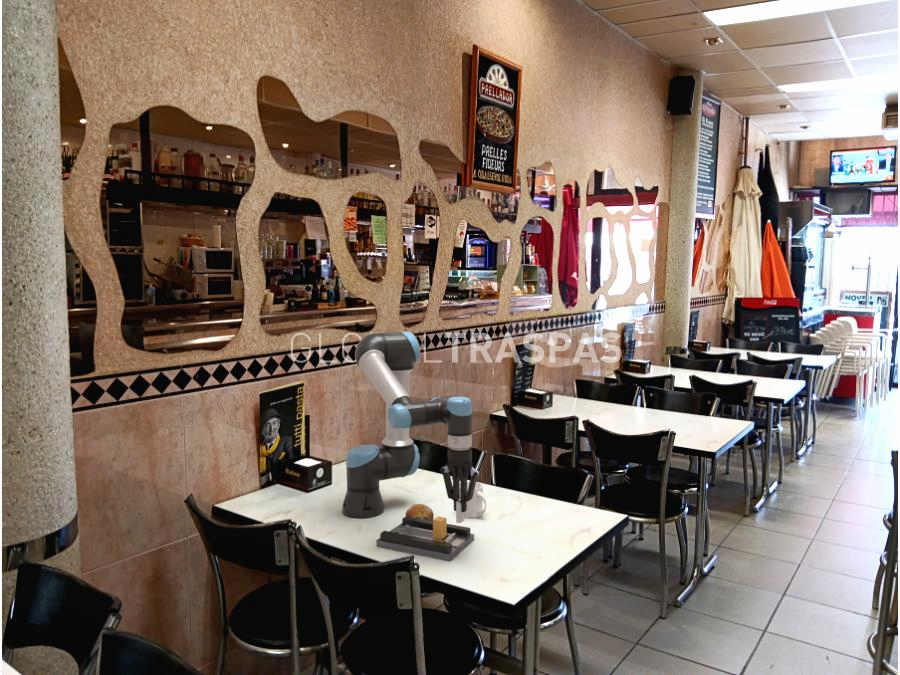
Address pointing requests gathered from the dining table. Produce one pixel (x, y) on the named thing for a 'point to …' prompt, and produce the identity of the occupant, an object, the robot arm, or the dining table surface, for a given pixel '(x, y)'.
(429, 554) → the panel
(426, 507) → the bread roll
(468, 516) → the mug
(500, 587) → the dining table surface
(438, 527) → the lever
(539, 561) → the dining table surface
